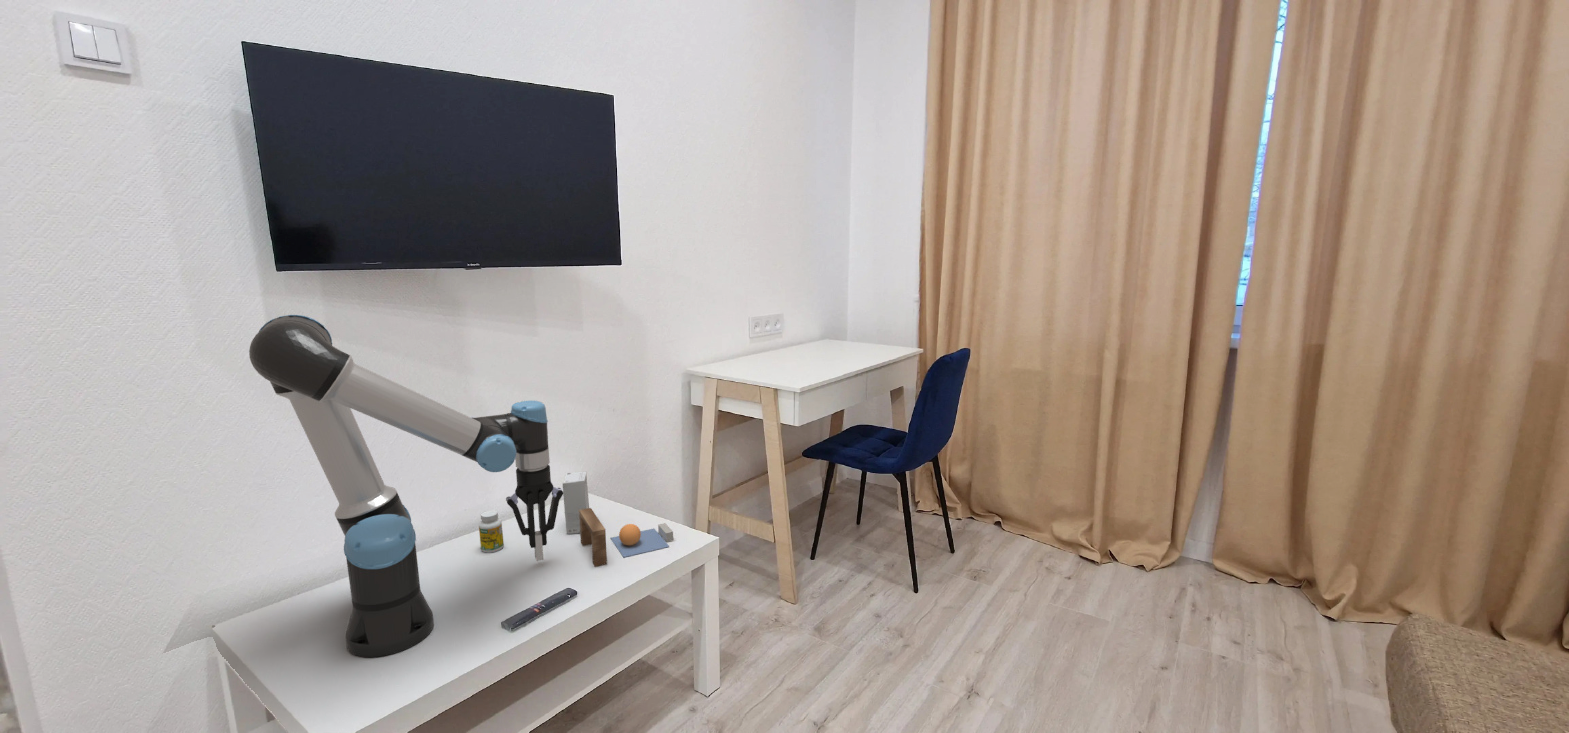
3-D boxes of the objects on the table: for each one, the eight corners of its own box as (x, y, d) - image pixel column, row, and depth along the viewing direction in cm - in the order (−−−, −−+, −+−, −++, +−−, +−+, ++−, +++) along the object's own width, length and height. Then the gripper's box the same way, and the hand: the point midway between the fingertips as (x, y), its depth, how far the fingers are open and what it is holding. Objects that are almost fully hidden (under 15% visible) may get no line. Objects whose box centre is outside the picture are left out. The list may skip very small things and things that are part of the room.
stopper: (666, 542, 173) (665, 533, 172) (658, 533, 178) (658, 524, 178) (673, 540, 174) (673, 531, 173) (665, 531, 179) (665, 523, 179)
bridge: (594, 567, 160) (592, 531, 158) (580, 542, 172) (579, 510, 170) (607, 564, 161) (605, 529, 159) (592, 540, 174) (590, 507, 172)
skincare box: (588, 533, 178) (585, 481, 175) (565, 535, 176) (562, 482, 173) (590, 520, 186) (587, 470, 183) (567, 521, 184) (565, 471, 181)
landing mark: (623, 557, 164) (623, 557, 164) (610, 538, 175) (610, 537, 175) (669, 547, 170) (669, 546, 170) (654, 529, 181) (654, 528, 180)
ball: (639, 524, 169) (646, 542, 171) (632, 517, 173) (639, 534, 175) (619, 535, 166) (627, 553, 168) (613, 527, 171) (620, 544, 173)
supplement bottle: (506, 542, 172) (503, 508, 170) (500, 552, 166) (497, 517, 164) (484, 544, 171) (481, 509, 169) (478, 553, 166) (474, 518, 164)
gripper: (558, 457, 162) (563, 545, 166) (501, 465, 155) (508, 557, 160) (564, 466, 155) (570, 558, 160) (505, 476, 149) (512, 571, 154)
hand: (539, 558), depth 160 cm, fingers closed
